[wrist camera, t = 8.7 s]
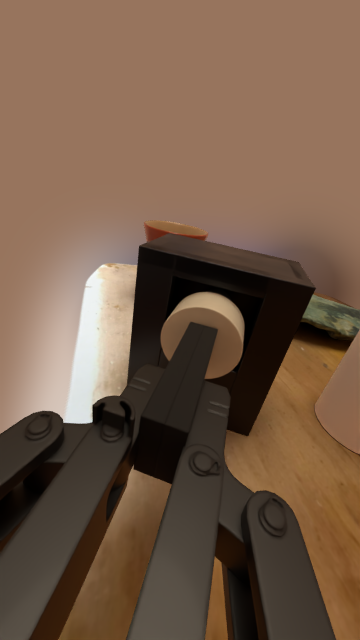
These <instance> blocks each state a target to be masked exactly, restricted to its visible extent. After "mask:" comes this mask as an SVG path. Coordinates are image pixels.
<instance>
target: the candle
mask: <svg viewBox="0 0 360 640" xmlns="http://www.w3.org/2000/svg"><path fill="white" fill-rule="evenodd" d="M315 413H316V416H317V419H318V420H319V422H320V423H321V425H322V426H323V427H324V429H325V430H326V431H327V432H328V433H329V434H330V435H331V436H332V437H333V438H334V439H336V440H337V441H338V442H339V443H340V444H342V445H344V446H345V447H347V448H348V449H350V450H351V451H353V452H355V453H357V454H360V330H359V332H358V333H357V335H356V337H355V338H354V340H353V342H352V343H351V345H350V347H349V348H348V350H347V352H346V353H345V355H344V357H343V358H342V360H341V362H340V364H339V365H338V367H337V369H336V370H335V372H334V374H333V375H332V377H331V379H330V380H329V382H328V384H327V385H326V387H325V389H324V390H323V392H322V394H321V395H320V397H319V399H318V400H317V402H316V404H315Z"/></svg>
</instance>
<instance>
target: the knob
mask: <svg viewBox="0 0 360 640" xmlns="http://www.w3.org/2000/svg"><path fill="white" fill-rule="evenodd" d="M190 322H194V323H197V324H201V325H205V326H208V327H212V328H215V329H218V332H217V336H216V339H215V343H214V346H213V350H212V354H211V357H210V361H209V364H208V368H207V372H206V375H205V379H212V378H218V377H221V376H223V375H225V374H227V373H229V372H230V371H231V370H233V369H234V368H235V367H236V365H237V364H238V362H239V361H240V359H241V356H242V351H243V341H244V330H245V325H244V319H243V316H242V314H241V312H240V310H239V309H238V307H237V306H236V305H235V304H234V303H233V302H232V301H231V298H230V296H229V295H228V293H226V292H225V291H224V290H221V289H217V288H214V289H210V290H208V291H206V292H198V293H194V294H191V295H189V296H187V297H186V298H184V299H183V300H182V301H181V302H180V303H179V304H178V305H177V307H176V308H175V309H174V311H173V312H172V313H171V315H170V316H169V317H168V319H167V320H166V322H165V323H164V325H163V328H162V331H161V345H162V349H163V352H164V354H165V356H166V357H167V359H168V360H169V361H170V359H171V357H172V356H173V354H174V352H175V350H176V348H177V346H178V344H179V342H180V340H181V339H182V337H183V335H184V333H185V331H186V329H187V327H188V325H189V323H190Z"/></svg>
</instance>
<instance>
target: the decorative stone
mask: <svg viewBox="0 0 360 640" xmlns="http://www.w3.org/2000/svg"><path fill="white" fill-rule="evenodd" d="M301 322H307V323H309V324H311V325H313V326H315V327H317V328H320V329H325V330H326V331H327V333H328V334H329V336H331V337H332V338H334V339H342V340H354V338H355V337H356V335H357V333H358V332H359V330H360V310H358V309H354V308H351V307H348V306H346V305H342V304H339V303H336V302H333V301H329V300H326V299H324V298H321V297H318V296H316V295H313V296H312V298H311V300H310V302H309V304H308V307H307V309H306V311H305V313H304V315H303V317H302V320H301Z"/></svg>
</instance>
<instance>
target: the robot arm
mask: <svg viewBox="0 0 360 640" xmlns="http://www.w3.org/2000/svg"><path fill="white" fill-rule="evenodd" d="M217 332H218V329H215V328H212V327H208V326H205V325H201V324H197V323H194V322H190V323H189V325H188V327H187V329H186V331H185V333H184V335H183V337H182V339H181V340H180V342H179V344H178V346H177V348H176V350H175V352H174V354H173V356H172V357H171V359H170V361H169V363H168V365H167V367H166V369H164V368H161V367H158V366H155V365H151V364H146V365H144V366H143V367H141V368H139V369H138V371H137V372H136V374H135V375H134V376H133V379H131V381H130V382H129V384H128V386H127V387H126V388H125V390H124V391H123V392H122V394H121V395H120V396H108V397H105V398H102V399H100V400H98V401H97V402H96V403H95V404H94V405H93V422H92V423H87V424H74V423H63V419H62V418H61V417H60V415H58V414H57V413H54V412H52V411H40V412H36V413H33V414H31V415H29V416H27V417H25V418H23V419H22V420H20V421H19V422H18V423H16V424H15V425H13V426H12V427H10V428H9V429H7V430H6V431H4V432H3V433H1V434H0V640H58V639H59V637H60V634H61V632H62V630H63V628H64V625H65V623H66V621H67V619H68V616H69V614H70V612H71V610H72V607H73V605H74V603H75V601H76V598H77V596H78V594H79V592H80V589H81V587H82V585H83V583H84V581H85V578H86V576H87V574H88V572H89V569H90V567H91V565H92V563H93V560H94V558H95V556H96V554H97V551H98V549H99V547H100V545H101V542H102V540H103V538H104V536H105V533H106V531H107V529H108V527H109V524H110V522H111V520H112V518H113V515H114V513H115V511H116V509H117V506H118V504H119V502H120V500H121V498H122V495H123V493H124V491H125V489H126V486H127V482H128V476H129V473H130V471H131V469H132V467H133V465H134V470H137V471H140V472H142V473H145V474H147V475H150V476H152V477H155V478H157V479H160V480H162V481H165V482H168V483H170V484H172V486H171V489H170V493H169V496H168V499H167V503H166V506H165V509H164V513H163V516H162V520H161V523H160V526H159V530H158V533H157V536H156V540H155V543H154V547H153V550H152V553H151V557H150V560H149V563H148V567H147V570H146V574H145V577H144V580H143V584H142V587H141V590H140V594H139V597H138V601H137V604H136V607H135V611H134V614H133V617H132V621H131V624H130V628H129V631H128V634H127V638H126V640H205V634H206V625H207V617H208V608H209V600H210V591H211V583H212V574H213V566H214V557H216V558H217V559H219V560H220V561H221V562H222V573H223V585H224V596H225V608H226V620H227V631H228V640H336V638H335V635H334V632H333V629H332V626H331V622H330V619H329V616H328V613H327V610H326V607H325V604H324V601H323V598H322V595H321V591H320V588H319V585H318V582H317V579H316V576H315V573H314V570H313V567H312V564H311V561H310V557H309V554H308V551H307V548H306V545H305V542H304V539H303V536H302V533H301V530H300V527H299V523H298V521H297V519H296V517H295V515H294V512H293V510H292V509H291V508H290V507H289V505H288V504H287V503H286V502H285V501H284V500H283V499H282V498H280V497H279V496H278V495H276V494H275V493H272V492H269V491H266V490H265V491H257V492H255V493H254V492H252V491H251V490H250V489H248V488H247V487H246V486H244V485H243V484H242V483H240V482H239V481H238V480H237V479H236V478H235V477H234V476H233V475H232V474H231V472H230V471H229V469H228V467H227V465H226V463H225V459H224V447H225V439H226V431H227V423H228V415H229V407H230V399H231V397H230V395H229V392H228V389H227V387H224V386H220V385H217V384H214V383H211V382H208V381H205V380H204V379H205V375H206V372H207V368H208V364H209V361H210V357H211V354H212V350H213V346H214V343H215V339H216V336H217Z"/></svg>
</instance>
